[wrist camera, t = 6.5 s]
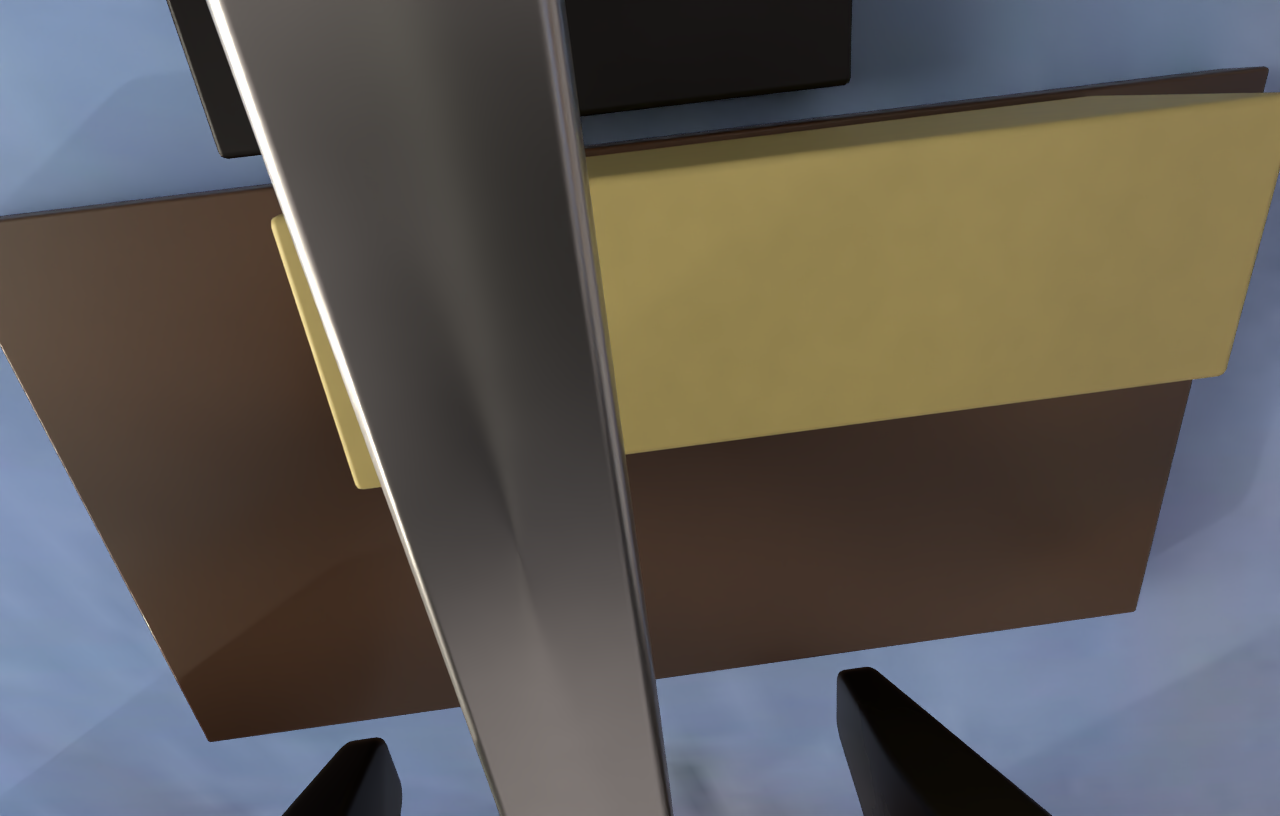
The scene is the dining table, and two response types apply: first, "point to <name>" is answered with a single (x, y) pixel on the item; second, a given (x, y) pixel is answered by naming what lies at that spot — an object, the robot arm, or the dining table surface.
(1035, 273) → the butter
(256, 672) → the butter board
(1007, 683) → the dining table surface
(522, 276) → the grey brown t-shaped piece
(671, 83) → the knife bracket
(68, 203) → the dining table surface
